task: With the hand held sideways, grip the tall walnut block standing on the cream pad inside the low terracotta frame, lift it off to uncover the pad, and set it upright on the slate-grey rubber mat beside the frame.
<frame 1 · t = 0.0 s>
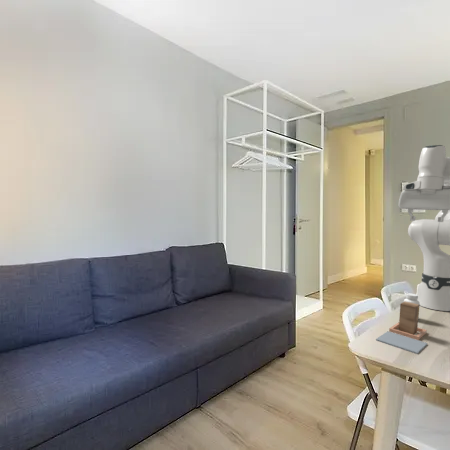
hand: (426, 221, 121), 39 cm above the table, tool pointing down, fingers open, 8 cm apart
supplement bottle: (410, 319, 123), on the table
walnut block: (407, 331, 109), resting on terracotta frame
rubber mat: (401, 342, 100), on the table
terracotta frame: (407, 332, 109), on the table
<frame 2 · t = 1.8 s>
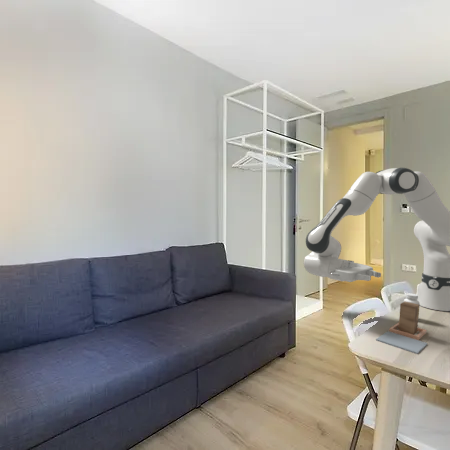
hand: (375, 276, 116), 18 cm above the table, tool horizontal, fingers open, 8 cm apart
nothing on the table moved.
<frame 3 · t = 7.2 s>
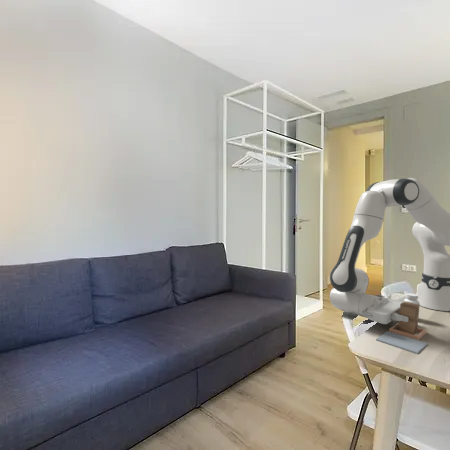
hand: (411, 317, 108), 6 cm above the table, tool horizontal, fingers closed on walnut block, 4 cm apart
walnut block: (407, 331, 109), resting on terracotta frame, touching gripper
everything else where it was.
when the fingers open (8 cm above the table, at t = 14.3 s): walnut block drops 1 cm, resting on rubber mat.
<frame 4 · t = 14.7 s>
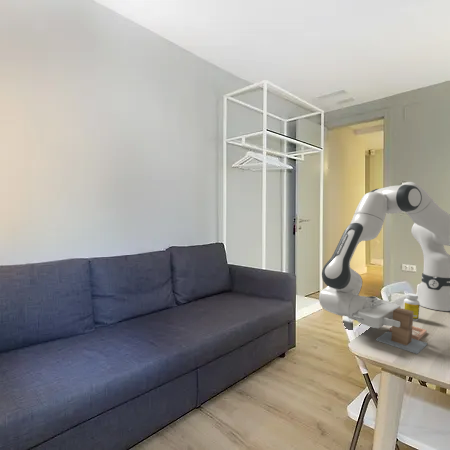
hand: (405, 320, 99), 8 cm above the table, tool horizontal, fingers open, 8 cm apart
walnut block: (401, 341, 100), point 1 cm above the table, touching rubber mat
everything else where it was.
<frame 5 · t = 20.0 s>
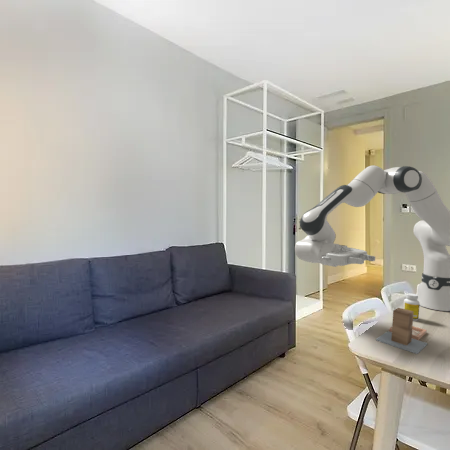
hand: (369, 260, 109), 25 cm above the table, tool horizontal, fingers open, 8 cm apart
nothing on the table moved.
at the end: walnut block inside the target area on the rubber mat (0.0 cm from its centre), point 0.6 cm above the rubber mat's base; walnut block tilted 0°; the gripper is holding nothing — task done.
